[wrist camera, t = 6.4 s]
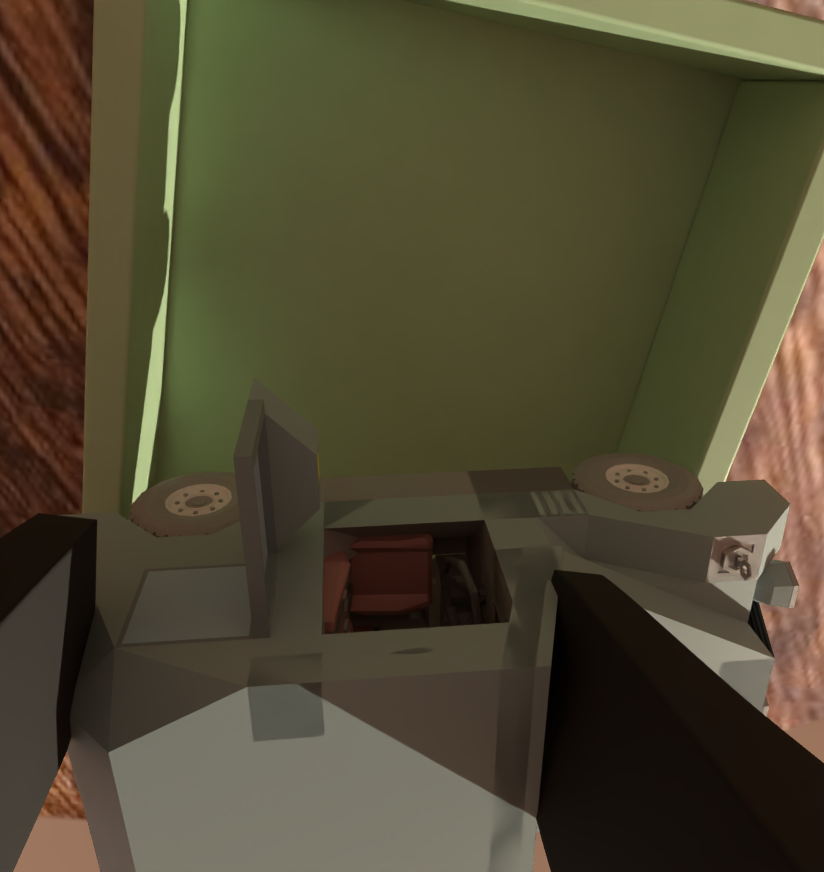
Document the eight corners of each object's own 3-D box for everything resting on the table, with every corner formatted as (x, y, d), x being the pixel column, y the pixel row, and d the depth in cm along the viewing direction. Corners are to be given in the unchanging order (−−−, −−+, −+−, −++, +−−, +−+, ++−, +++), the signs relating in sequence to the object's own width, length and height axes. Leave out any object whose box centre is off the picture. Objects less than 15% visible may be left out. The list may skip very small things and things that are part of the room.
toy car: (685, 650, 14) (842, 905, 10) (132, 688, 13) (35, 984, 9) (746, 313, 12) (1001, 455, 7) (59, 334, 11) (-128, 511, 6)
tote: (558, 668, 19) (604, 785, 16) (121, 630, 17) (75, 752, 14) (772, 48, 13) (905, 40, 10) (158, -101, 12) (95, -165, 8)
